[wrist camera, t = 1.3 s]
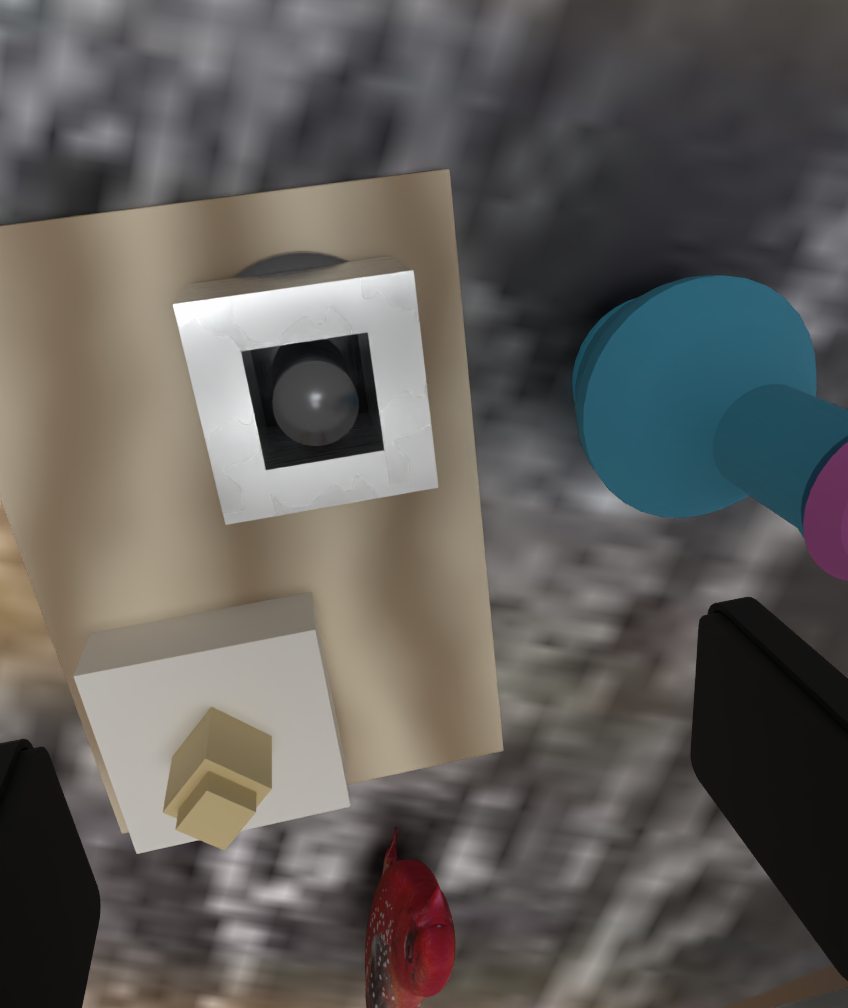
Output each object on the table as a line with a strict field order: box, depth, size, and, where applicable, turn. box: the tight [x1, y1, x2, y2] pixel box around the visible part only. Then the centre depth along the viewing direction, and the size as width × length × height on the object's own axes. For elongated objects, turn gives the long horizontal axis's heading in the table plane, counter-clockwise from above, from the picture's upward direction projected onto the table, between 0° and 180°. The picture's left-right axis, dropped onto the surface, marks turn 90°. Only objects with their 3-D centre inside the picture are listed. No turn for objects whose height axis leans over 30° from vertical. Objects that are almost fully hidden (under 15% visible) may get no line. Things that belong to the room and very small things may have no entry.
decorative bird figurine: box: [365, 826, 455, 1008], centre depth 38 cm, size 3×18×10 cm, turn 170°
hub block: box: [73, 592, 351, 854], centre depth 31 cm, size 9×9×7 cm
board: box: [0, 169, 503, 833], centre depth 32 cm, size 18×26×2 cm
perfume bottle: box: [572, 275, 848, 581], centre depth 27 cm, size 9×9×15 cm
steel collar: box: [173, 256, 439, 525], centre depth 26 cm, size 7×7×4 cm
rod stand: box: [232, 251, 369, 446], centre depth 27 cm, size 8×8×6 cm
